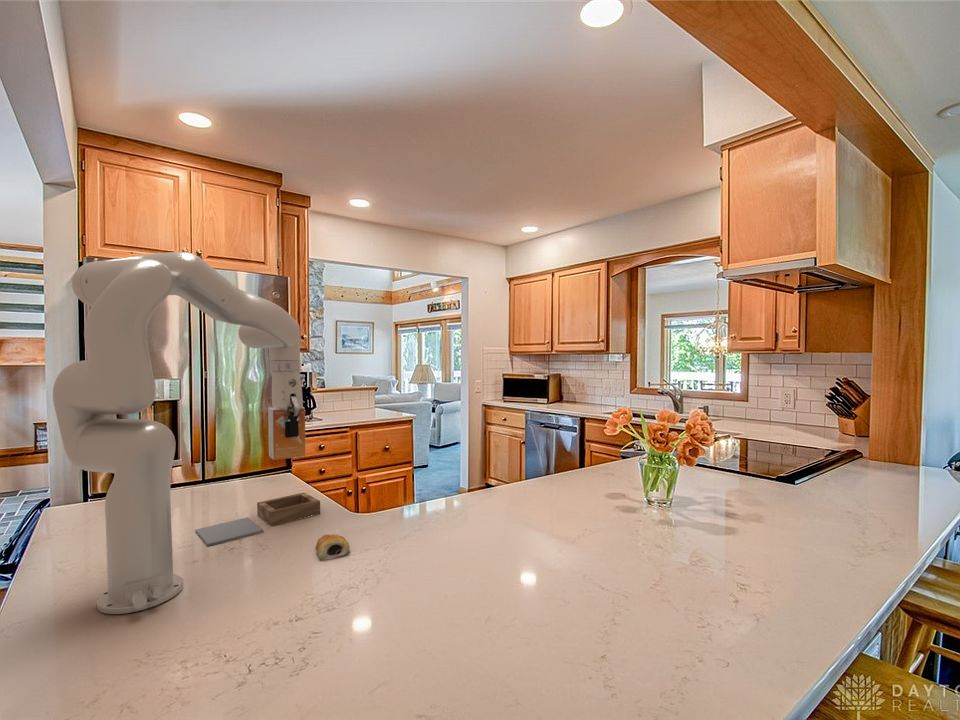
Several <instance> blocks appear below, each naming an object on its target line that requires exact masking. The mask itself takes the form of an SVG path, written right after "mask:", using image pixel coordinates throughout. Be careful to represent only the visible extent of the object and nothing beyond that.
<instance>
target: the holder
mask: <svg viewBox="0 0 960 720" xmlns="http://www.w3.org/2000/svg"><path fill="white" fill-rule="evenodd" d="M256 507H257V517H259V518H260V519H261V520H262V521H264V522H265V523H266V522H267V524H268V525H269V526H271V527H274V526H278V525H283V524H286V522H287V523H291V522H294V520H295V521H298V520H297V519H299V520H301V519H300V518H303V519H305V518H304V517H307V518H309V517H308V516H311V515H315V516H317V515H316V514H319V515H321V500H319V499H317V498H315V497H314V496H312V495H310V494H308V493H307V492H301V493H296V494H290V495H286V496H282V497H278V498H273V499H268V500H263V501H258V502H256ZM311 517H312V516H311ZM290 521H291V522H290ZM282 523H283V524H282Z"/></svg>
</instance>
